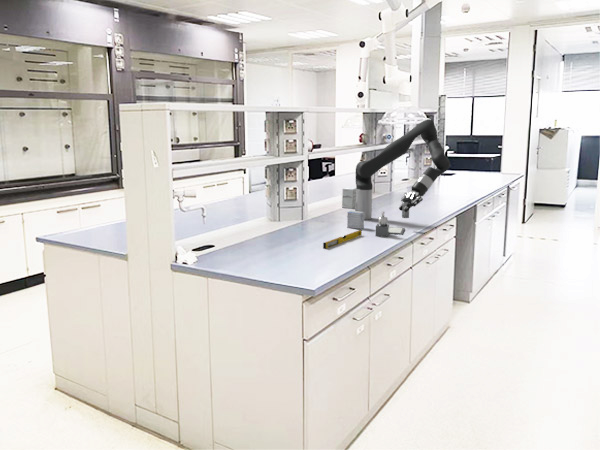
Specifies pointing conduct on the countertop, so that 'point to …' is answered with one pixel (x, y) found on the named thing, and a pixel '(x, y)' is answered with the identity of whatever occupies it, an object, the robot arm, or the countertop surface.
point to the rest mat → (396, 230)
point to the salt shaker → (404, 202)
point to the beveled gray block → (382, 226)
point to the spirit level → (341, 239)
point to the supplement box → (348, 197)
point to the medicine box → (355, 219)
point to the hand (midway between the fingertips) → (402, 210)
